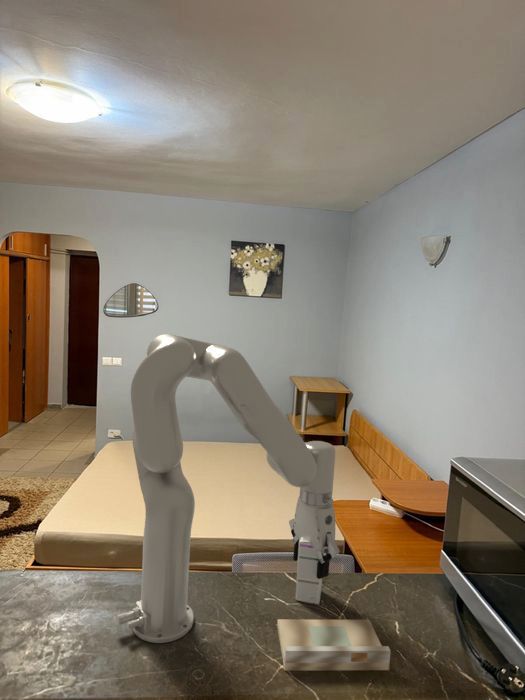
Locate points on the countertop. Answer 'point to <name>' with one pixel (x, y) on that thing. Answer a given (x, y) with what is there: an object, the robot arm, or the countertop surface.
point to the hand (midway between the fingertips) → (310, 567)
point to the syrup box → (307, 574)
